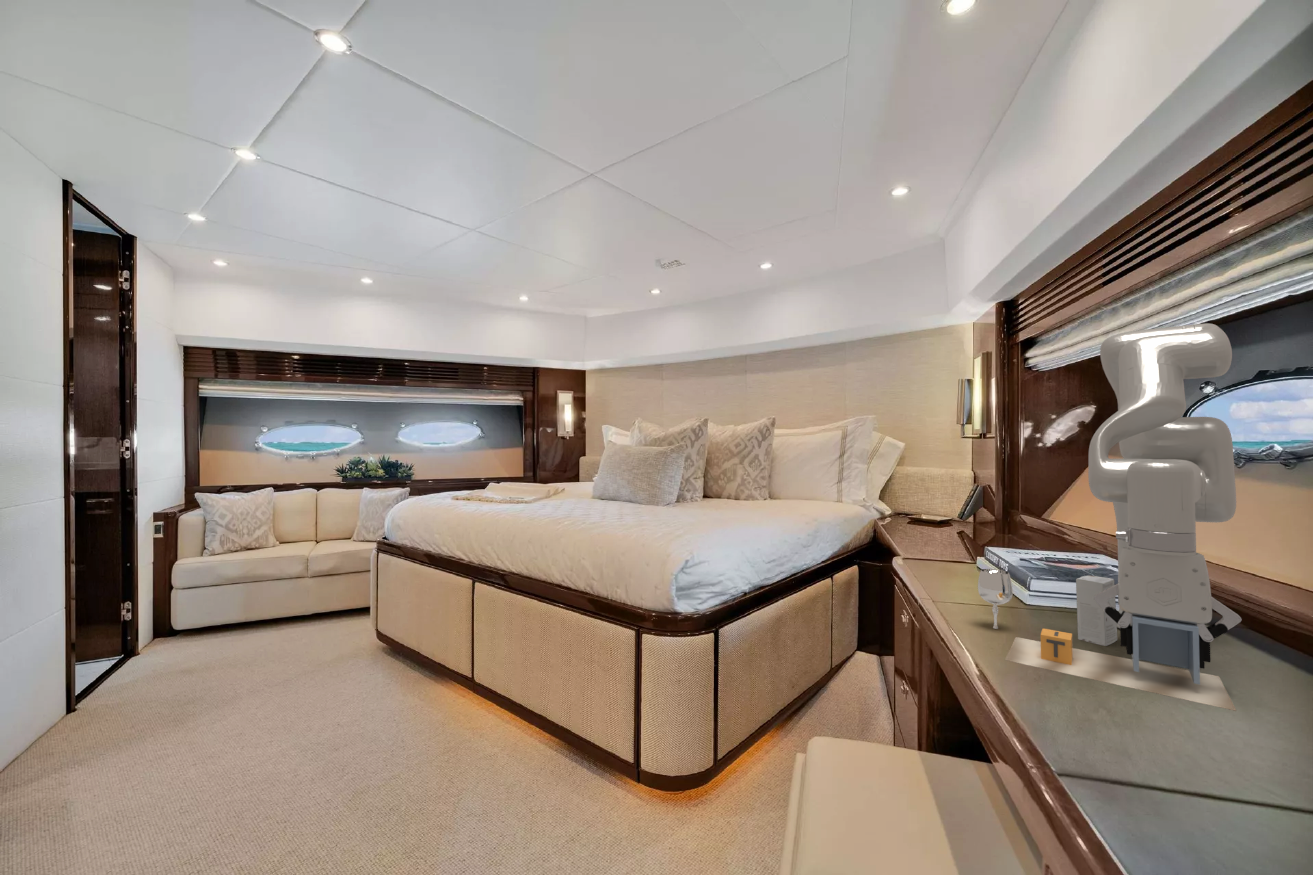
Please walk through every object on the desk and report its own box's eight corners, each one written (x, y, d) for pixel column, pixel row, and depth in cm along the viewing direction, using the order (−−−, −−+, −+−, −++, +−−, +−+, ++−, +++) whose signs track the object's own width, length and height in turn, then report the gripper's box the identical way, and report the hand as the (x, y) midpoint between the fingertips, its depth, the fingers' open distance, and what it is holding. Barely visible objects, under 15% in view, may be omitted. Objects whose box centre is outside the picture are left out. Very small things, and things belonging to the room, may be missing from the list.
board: (1005, 666, 87) (1005, 659, 87) (1015, 642, 97) (1015, 637, 98) (1236, 718, 70) (1236, 710, 70) (1219, 682, 81) (1218, 676, 81)
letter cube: (1043, 651, 90) (1042, 628, 91) (1072, 657, 88) (1072, 633, 88) (1040, 658, 87) (1040, 634, 87) (1071, 665, 85) (1071, 640, 85)
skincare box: (1106, 652, 93) (1105, 583, 93) (1076, 644, 97) (1074, 578, 97) (1118, 644, 96) (1117, 578, 97) (1088, 637, 100) (1087, 574, 100)
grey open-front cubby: (1131, 657, 85) (1130, 607, 85) (1193, 668, 80) (1192, 616, 80) (1133, 671, 79) (1132, 618, 79) (1200, 684, 75) (1198, 628, 75)
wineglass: (971, 630, 104) (970, 569, 104) (990, 626, 106) (990, 567, 107) (1000, 639, 99) (999, 576, 99) (1020, 635, 101) (1019, 573, 101)
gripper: (1086, 538, 83) (1089, 651, 82) (1251, 552, 72) (1254, 683, 71) (1088, 532, 89) (1090, 638, 88) (1240, 545, 77) (1243, 666, 77)
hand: (1163, 657), depth 80 cm, fingers closed on grey open-front cubby, 7 cm apart
